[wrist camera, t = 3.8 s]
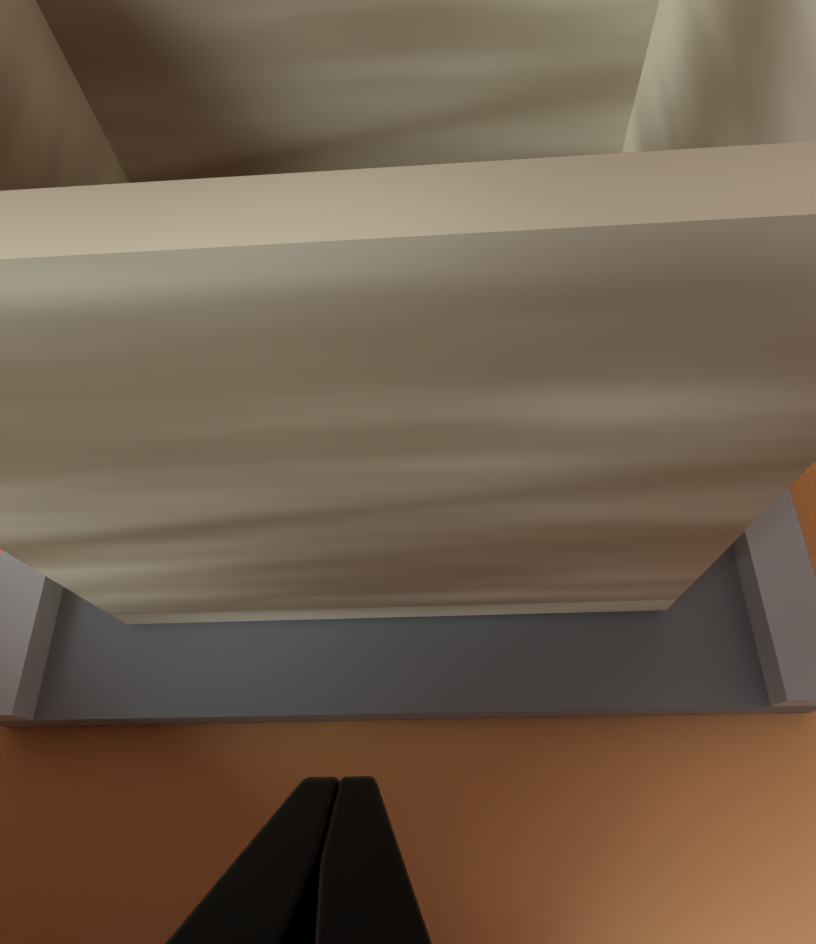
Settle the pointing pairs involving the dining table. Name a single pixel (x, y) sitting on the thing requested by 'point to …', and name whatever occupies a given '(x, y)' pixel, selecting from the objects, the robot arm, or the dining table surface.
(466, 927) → the dining table surface
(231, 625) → the grey tray
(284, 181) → the box
